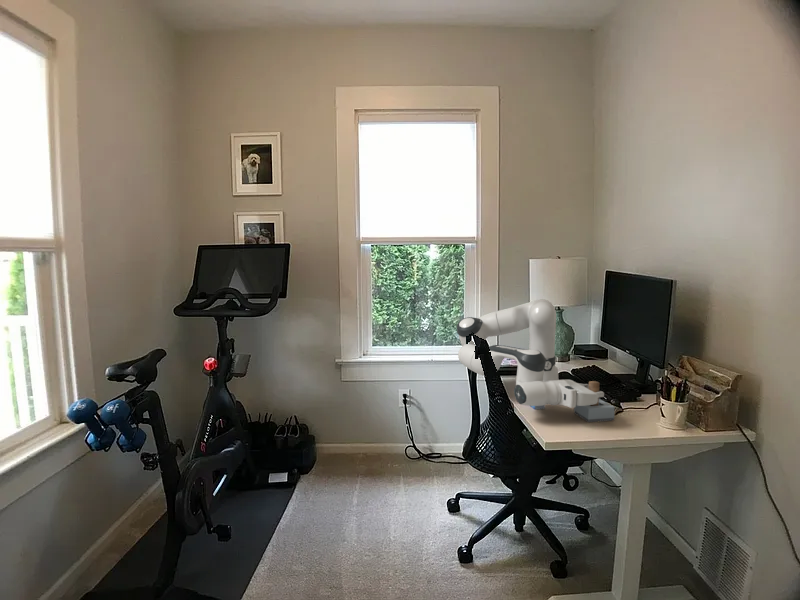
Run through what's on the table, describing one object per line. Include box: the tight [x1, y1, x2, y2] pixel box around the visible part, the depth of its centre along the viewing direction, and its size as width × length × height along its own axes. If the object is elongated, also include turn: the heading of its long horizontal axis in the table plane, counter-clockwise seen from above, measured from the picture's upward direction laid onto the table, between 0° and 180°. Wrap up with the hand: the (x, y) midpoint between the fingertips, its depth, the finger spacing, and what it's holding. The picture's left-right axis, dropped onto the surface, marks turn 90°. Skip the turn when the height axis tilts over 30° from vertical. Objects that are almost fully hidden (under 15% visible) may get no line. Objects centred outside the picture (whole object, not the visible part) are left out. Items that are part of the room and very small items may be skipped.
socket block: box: [573, 398, 615, 423], centre depth 177 cm, size 10×10×5 cm
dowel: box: [588, 380, 600, 406], centre depth 176 cm, size 4×4×12 cm
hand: (595, 390), depth 176 cm, fingers open, 8 cm apart
